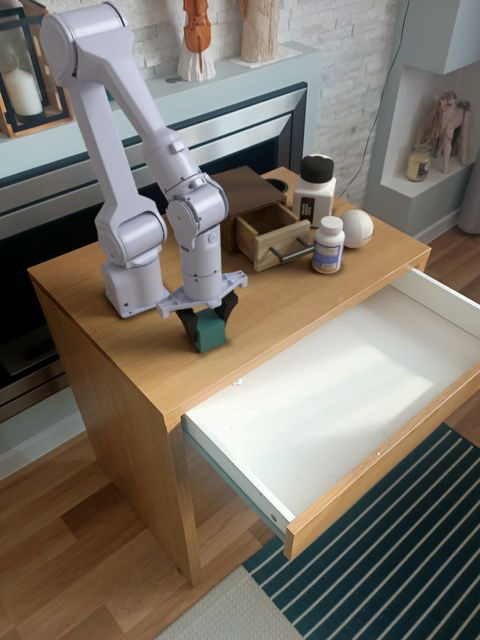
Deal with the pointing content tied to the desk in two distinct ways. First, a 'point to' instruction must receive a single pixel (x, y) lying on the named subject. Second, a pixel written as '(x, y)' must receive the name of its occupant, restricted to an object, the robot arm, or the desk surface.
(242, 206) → the cabinet
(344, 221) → the white ball
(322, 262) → the pill bottle
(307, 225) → the drawer
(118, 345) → the desk surface
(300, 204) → the container
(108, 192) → the robot arm
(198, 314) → the block
